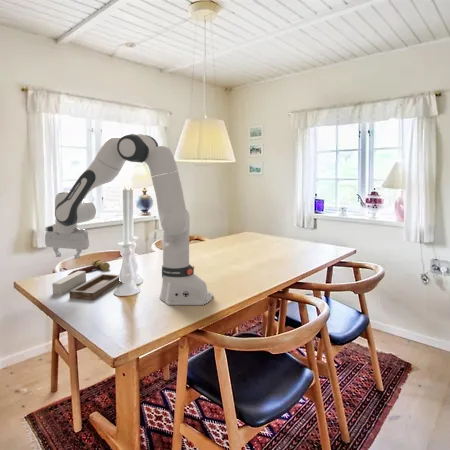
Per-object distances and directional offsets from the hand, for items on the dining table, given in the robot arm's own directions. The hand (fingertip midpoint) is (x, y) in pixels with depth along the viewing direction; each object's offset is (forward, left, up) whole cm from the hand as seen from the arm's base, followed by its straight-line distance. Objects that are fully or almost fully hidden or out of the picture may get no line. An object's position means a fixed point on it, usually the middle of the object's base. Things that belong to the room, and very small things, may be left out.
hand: (67, 257), depth 163 cm
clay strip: (0, 0, -14) cm, 14 cm away
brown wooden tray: (-14, 0, -14) cm, 20 cm away
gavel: (+6, -24, -15) cm, 28 cm away
